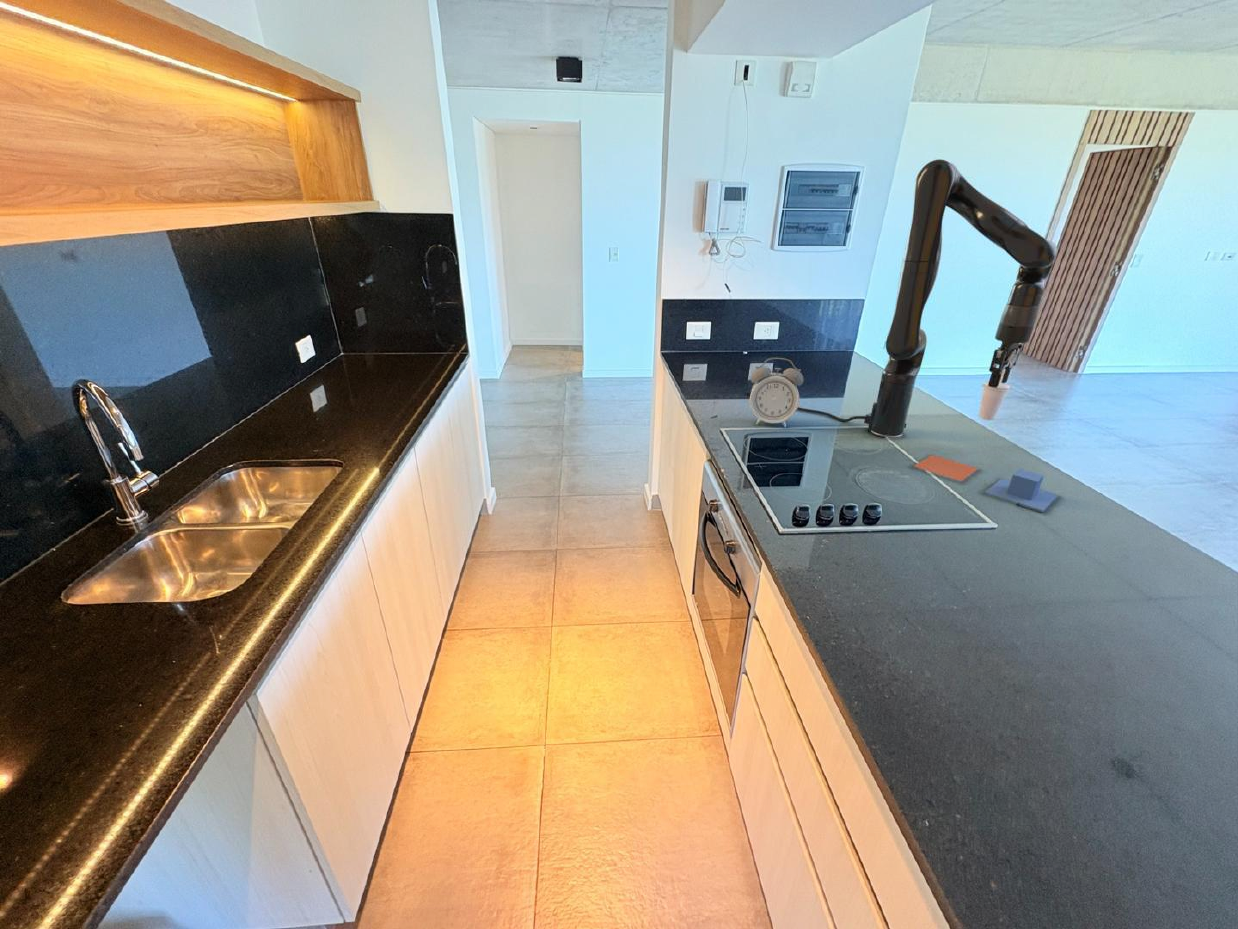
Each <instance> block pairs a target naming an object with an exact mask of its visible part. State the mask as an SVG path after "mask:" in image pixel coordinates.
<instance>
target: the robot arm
mask: <svg viewBox="0 0 1238 929" xmlns="http://www.w3.org/2000/svg"><path fill="white" fill-rule="evenodd" d="M913 191H914V192H913V205H912V216H911V222H910V227H909V231H908V233H907V238H906V243H905V247H904V251H903V256H902V261H901V266H900V272H899V280H898V285H897V291H896V298H895V307H894V312H893V316H892V319H891V323H890V327H889V330H888V334H887V337H886V340H885V350H886V353H887V354H888V356H889V357H888V360H887V363H886V365H885V367H884V368H883V370H882V374H881V377H880V383H879V387H878V393H877V397H876V401H874V402H873V403H872V408H871V412H869V413H867V414H865V415H855V416H851V417H849V418H841V417H838V416H836V415H834V414H832V413H830V412H826V411H822V410H817V409H811V408H803V407H799V406H798V408H797V410H796V411H801V412H807V413H813V414H819V415H824V416H826V417H830V418H832V419H835V420H836V421H839V422H843V423H848V422H851V421H853V420H864V421H863V423H864V424H867V425H868V426H867V432H869V433H871V434H872V435H874V436H877V437H880V438H883V439H884V438H900V437H902V436H904V430H905V429H906V427H907V423H906V421H907V418H908V413H909V409H910V406H911V401H912V397H913V392H914V388H915V384H916V379H917V376H918V374H919V373H920V370H921V367H922V363H923V360H924V357H925V353H926V349H927V343H928V341H927V340H928V339H927V334H926V332H925V330H924V329H923V328H921V324H922V318H923V313H924V310H925V307H926V305H927V302H928V300H929V298H930V295H931V293H932V292H933V289H934V286H935V283H936V281H937V278H938V273H939V268H940V264H941V259H942V251H943V220H944V215H945V214H944V213H945V211H946V208H949V209H951V210H952V211H954V212H955V213H956V214H958V215H959V216H961V217H962V218H963V219H964V220H965V221H966V222H967V223H968V224H969V225H970V226H972V228H973V229H975V230H976V231H977V232H978V233H979V234H980V235H982V236H983V237H984V238H985V239H987V240H988V241H990V242H991V243H992V244H993V245H995V246H996V247H998V248H1000V249H1001V250H1003V251H1004V252H1005V253H1007V255H1009V256H1010V257H1011V259H1013V260H1014V261H1016V262H1017V263H1018V264H1019V267H1018V270H1017V273H1016V277H1015V281H1014V282H1013V283H1012V286H1011V288H1010V291H1009V294H1008V298H1007V301H1006V305H1005V306H1004V309H1003V311H1002V313H1001V317H1000V320H999V322H998V326H997V330H996V332H995V336H994V338H995V340H997V341H998V342H999V341H1000V342H1001V344H1000V347H997V349H994V351H993V355H992V357H991V358H992V359H991V363H990V366H989V369H988V371H989V372H990V373H991V374H990V377H989V381H988V382H989V383H988V386H989V387H994V388H996V387H998V385H999V382H1000V379H1001V376H1002V373H1003V371H1004V369H1006V370H1005V373H1004V376H1003V379H1002V382H1001V383H1004V384H1007V382H1008V379H1009V376H1010V374H1011V371H1012V369H1014V367H1016V365H1017V361H1018V359H1019V356H1020V354H1021V351H1022V349H1023V344H1026V343H1029V342H1030V339H1031V337H1032V334H1033V330H1034V328H1035V324H1036V321H1037V319H1038V315H1039V309H1040V305H1041V303H1042V300H1043V297H1044V294H1045V289H1046V286H1047V285H1046V284H1047V281H1048V278H1049V276H1050V274H1051V271H1052V268H1053V266H1054V264H1055V261H1056V258H1057V256H1058V247H1057V244H1055V242H1053V241H1051V240H1050V239H1047V238H1045V236H1044V237H1043V236H1042V235H1041V234H1039V233H1038V232H1036V231H1035V230H1033V229H1032V228H1030V227H1029V226H1028V224H1027V223H1026V222H1024V221H1023V220H1022V219H1021V218H1019V217H1018V216H1017V215H1015V214H1014V213H1012V212H1011V211H1010V210H1008V209H1007V208H1006V207H1004V206H1002V205H1000V204H999V203H997V202H995V201H994V200H992V199H991V198H989V197H988V196H986V195H985V194H983V193H982V192H980V191H979V190H978V189H977V188H975V187H974V186H973V185H972V184H971V183H970V182H969V181H968V180H967V178H966V177H964V175H963V174H962V173H961V172H960V171H959V169H958V167H957V166H956V164H954V163H953V162H951V161H949V160H947V159H940V158H939V159H934V160H931V161H929V162H928V163H926V164H924V165H923V166H922V167H921V169H920V170H919V172H918V173H917V175H916V177H915V182H914V190H913ZM746 394H747V395H749V396H750V395H751V391H746Z"/></svg>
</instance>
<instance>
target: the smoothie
mask: <svg viewBox="0 0 1238 929" xmlns="http://www.w3.org/2000/svg"><path fill="white" fill-rule="evenodd" d="M1005 370H1006V369H1004V371H1003V373H1002V376H1001V379H1000V382H999V385H998V387H996V388H994V387H989V386H988V383H989V381H984V382H983V384H982V392H981V393H982V394H981V399H980V406H979V411H978V412H979V413H978V418H980V419H982V420H986V421H993V420H995V418H996V416H997V414H998V411H999V410H1000V408H1001V406H1002V404H1003V402H1004V400H1005V398H1006V396H1007V394H1008V392H1009V391H1010V390H1011V385H1009V384H1007V383H1001V382H1002V379H1003V376H1004V373H1005Z"/></svg>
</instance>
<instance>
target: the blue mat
mask: <svg viewBox="0 0 1238 929" xmlns="http://www.w3.org/2000/svg"><path fill="white" fill-rule="evenodd" d="M1010 482H1011V480H1009V479H1007V478H1000V479H999V480H998V481H996V482H995V483H994V484H993V485H991V486H990V487H989V488H988V489H987V490H985V491H984V493H985V494H989V495H992V496H995V497H999V498H1001V499H1005V500H1008V501H1011V502H1014V503H1016V505H1017V506H1020V507H1023V508H1026V509H1029V510H1032V511H1035V512H1039V513H1042V514H1043V513H1044V512H1045V511H1046V510H1047V509H1048V508H1049V507H1050V506H1051V505H1052V504H1053V503H1054V502H1055V501H1056V499H1058V497H1059V494H1056V493H1054V492H1050V491H1046V490H1043V489H1040V488H1039V491H1038V493H1037V495H1036V496H1035V497H1034V498H1033V499H1032V500H1028V499H1025V498H1022V497H1018V496H1015V495H1012V494H1009V493H1007V490H1008V488H1009V485H1010Z"/></svg>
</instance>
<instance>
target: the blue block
mask: <svg viewBox="0 0 1238 929" xmlns="http://www.w3.org/2000/svg"><path fill="white" fill-rule="evenodd" d="M1044 477H1045V475H1043V474H1039V473H1035V472H1031V471H1028V470H1024V469H1021V468H1019V469H1018V470H1017V471H1016V472H1014V473H1013V474H1012V476H1011V479H1010V481H1011V482H1010V485H1009V488H1008V490H1007V493H1009V494H1012V495H1015V496H1018V497H1022V498H1025V499H1028V500H1032V499H1033V498H1034V497H1035V496H1036V495H1037V493H1038V491H1039V489H1040V488H1041V485H1042V482H1043V479H1044Z"/></svg>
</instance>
